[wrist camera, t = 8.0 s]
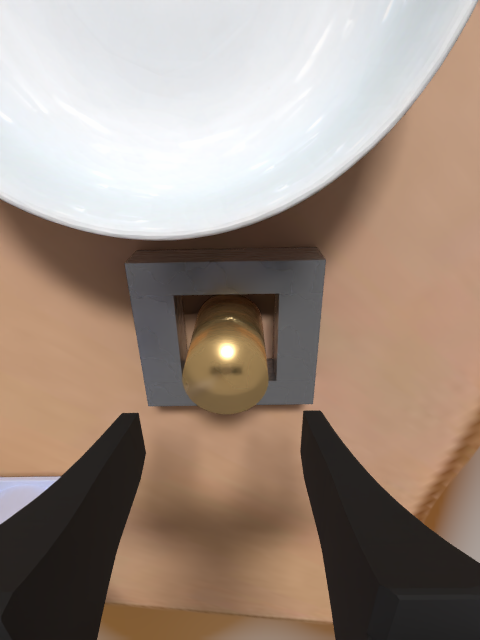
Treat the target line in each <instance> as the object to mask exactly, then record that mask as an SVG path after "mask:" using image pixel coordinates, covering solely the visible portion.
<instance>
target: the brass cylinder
mask: <svg viewBox="0 0 480 640" xmlns="http://www.w3.org/2000/svg"><path fill="white" fill-rule="evenodd" d="M268 381H269V379H268V368H267V360H266V351H265V342H264V334H263V325H262V317H261V314H260V311H259V309H258V307H257V306H256V305H255V304H254V303H253V302H252V301H251V300H250V299H248V298H247V297H245V296H243V295H240V294H219V295H215V296H213V297H211V298H210V299H208V300H207V301H206V302H205V303H204V304H203V305H202V307H201V308H200V310H199V313H198V316H197V320H196V324H195V327H194V331H193V335H192V339H191V343H190V346H189V350H188V354H187V358H186V362H185V365H184V369H183V374H182V382H183V386H184V389H185V392H186V393H187V395H188V396H189V398H190V399H191V400H192V401H193V402H194V403H195V404H196V405H198V406H199V407H201V408H202V409H204V410H207V411H209V412H213V413H217V414H236V413H240V412H243V411H246V410H248V409H250V408H252V407H253V406H255V405H256V404H257V403H258V402H259V401H260V400H261V399H262V398H263V396H264V394H265V392H266V390H267V387H268Z"/></svg>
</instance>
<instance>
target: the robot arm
mask: <svg viewBox="0 0 480 640" xmlns="http://www.w3.org/2000/svg"><path fill="white" fill-rule="evenodd" d="M300 452H301V459H302V467H303V474H304V479H305V484H306V488H307V492H308V496H309V500H310V504H311V507H312V511H313V515H314V519H315V523H316V527H317V531H318V535H319V539H320V544H321V548H322V553H323V560H324V566H325V572H326V578H327V584H328V591H329V598H330V604H331V611H332V618H333V625H334V632H335V638H336V640H480V563H478V562H477V561H475V560H474V559H472V558H471V557H469V556H468V555H466V554H465V553H463V552H462V551H460V550H459V549H457V548H456V547H454V546H453V545H451V544H450V543H448V542H447V541H445V540H444V539H443V538H441V537H440V536H439V535H438V534H436V533H435V532H433V531H432V530H431V529H429V528H428V527H427V526H425V525H424V524H423V523H422V522H421V521H420V520H418V519H417V518H416V517H415V516H413V515H412V514H411V513H410V512H409V511H407V510H406V509H405V508H404V507H403V506H402V505H400V504H399V503H398V502H397V501H396V500H395V499H394V498H393V497H392V496H391V495H390V494H389V493H388V492H387V491H385V490H384V489H383V488H382V487H381V486H380V485H379V484H378V483H377V482H376V480H375V479H374V478H373V477H372V476H371V475H370V474H369V473H368V472H367V471H366V470H365V468H364V467H363V466H362V465H361V464H360V463H359V462H358V460H357V459H356V458H355V457H354V456H353V454H352V453H351V452H350V451H349V449H348V448H347V447H346V446H345V444H344V443H343V442H342V440H341V439H340V438H339V436H338V435H337V434H336V432H335V431H334V430H333V428H332V427H331V425H330V424H329V422H328V421H327V419H326V418H325V416H324V415H323V413H322V412H321V411H303V424H302V437H301V450H300ZM145 455H146V451H145V446H144V440H143V435H142V430H141V424H140V419H139V413H122V414H121V415H120V416H119V417H118V418H117V419H116V420H115V421H114V423H113V424H112V425H111V426H110V427H109V428H108V429H107V430H106V431H105V433H104V434H103V435H102V436H101V437H100V438H99V439H98V440H97V441H96V442H95V443H94V444H93V445H92V447H91V448H90V449H89V450H88V451H87V452H86V453H85V454H84V455H83V456H82V457H81V458H80V459H79V460H78V461H77V462H76V463H75V464H74V465H73V466H72V467H71V468H70V469H69V470H68V471H66V472H65V473H64V474H63V475H62V476H61V477H0V640H97V637H98V632H99V627H100V622H101V617H102V612H103V608H104V604H105V599H106V595H107V590H108V586H109V581H110V577H111V573H112V569H113V565H114V560H115V556H116V552H117V549H118V546H119V542H120V539H121V536H122V533H123V530H124V527H125V524H126V521H127V518H128V515H129V512H130V510H131V507H132V504H133V501H134V498H135V495H136V492H137V489H138V486H139V482H140V479H141V475H142V470H143V465H144V460H145Z"/></svg>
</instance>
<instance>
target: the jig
mask: <svg viewBox="0 0 480 640" xmlns="http://www.w3.org/2000/svg"><path fill="white" fill-rule="evenodd" d="M325 264H326V259H325V258H324V257H323V255H322V254H321V253H320V251H319V250H318V248H317V247H303V248H248V249H193V250H138V251H136V252H135V253H134V254H133V255H132V256H131V257H130V258H129V259H128V260H127V261H126V262H125V269H126V275H127V281H128V287H129V293H130V299H131V305H132V311H133V317H134V323H135V329H136V335H137V341H138V347H139V353H140V359H141V365H142V371H143V377H144V383H145V389H146V395H147V401H148V406H198V405H196V404H195V403H194V402H193V401H192V400H191V399H190V398H189V396H188V395H187V393H186V392H185V389H184V386H183V382H182V374H183V369H184V365H185V362H186V358H187V344H186V333H185V323H184V313H183V303H182V295H219V294H275V308H274V347H273V359H266V360H267V368H268V379H269V381H268V387H267V390H266V392H265V394H264V396H263V398H262V399H261V400H260V401H259V402H258V403H257V404H256V405H280V404H313V398H314V386H315V375H316V364H317V353H318V342H319V331H320V319H321V308H322V297H323V286H324V275H325Z"/></svg>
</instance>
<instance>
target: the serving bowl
mask: <svg viewBox="0 0 480 640" xmlns="http://www.w3.org/2000/svg"><path fill="white" fill-rule="evenodd" d="M477 2H478V0H0V199H1V200H3V201H5V202H7V203H8V204H10V205H13V206H15V207H17V208H19V209H21V210H23V211H25V212H28V213H30V214H33V215H35V216H38V217H40V218H43V219H45V220H48V221H51V222H54V223H57V224H60V225H63V226H67V227H70V228H74V229H77V230H81V231H85V232H89V233H94V234H98V235H104V236H110V237H117V238H124V239H134V240H152V241H159V240H183V239H192V238H199V237H204V236H210V235H216V234H221V233H225V232H229V231H233V230H236V229H239V228H242V227H246V226H249V225H252V224H255V223H257V222H260V221H262V220H265V219H267V218H270V217H272V216H275V215H277V214H279V213H281V212H283V211H285V210H287V209H289V208H291V207H293V206H295V205H297V204H299V203H300V202H302V201H304V200H305V199H307V198H309V197H311V196H312V195H314V194H316V193H317V192H319V191H320V190H322V189H323V188H325V187H326V186H328V185H329V184H330V183H332V182H333V181H334V180H336V179H337V178H338V177H340V176H341V175H342V174H344V173H345V172H346V171H347V170H349V169H350V168H351V167H352V166H353V165H355V164H356V163H357V162H358V161H359V160H360V159H361V158H363V157H364V156H365V155H366V154H367V153H368V152H370V151H371V150H372V149H373V148H374V147H375V146H376V145H377V144H378V143H379V142H380V141H381V140H382V139H383V138H384V137H385V136H386V135H387V134H388V133H389V132H390V130H391V129H392V128H393V127H394V126H395V125H396V124H397V123H398V121H399V120H400V119H401V118H402V117H403V116H404V115H405V113H406V112H407V111H408V110H409V108H410V107H411V106H412V104H413V103H414V102H415V101H416V99H417V98H418V97H419V95H420V94H421V93H422V92H423V90H424V89H425V88H426V86H427V85H428V83H429V82H430V81H431V79H432V78H433V76H434V75H435V74H436V72H437V71H438V69H439V68H440V67H441V65H442V63H443V62H444V60H445V59H446V57H447V55H448V54H449V52H450V50H451V49H452V47H453V46H454V44H455V42H456V41H457V39H458V37H459V35H460V34H461V32H462V30H463V28H464V27H465V25H466V23H467V21H468V20H469V18H470V16H471V14H472V12H473V10H474V8H475V6H476V4H477Z"/></svg>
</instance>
